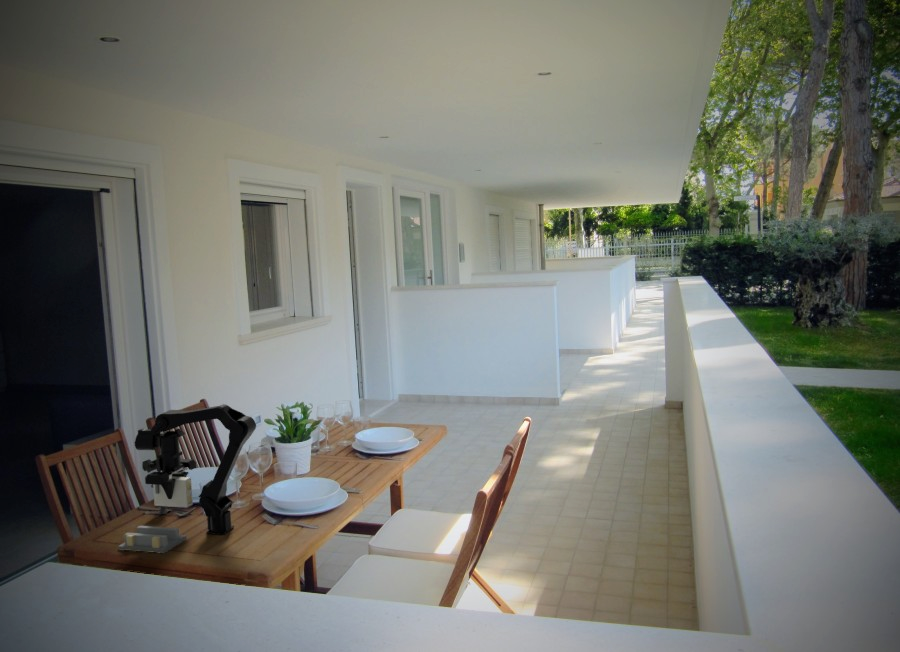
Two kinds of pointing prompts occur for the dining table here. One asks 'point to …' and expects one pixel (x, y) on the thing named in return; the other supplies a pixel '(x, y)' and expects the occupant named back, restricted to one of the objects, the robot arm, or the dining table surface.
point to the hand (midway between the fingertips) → (173, 497)
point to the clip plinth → (152, 539)
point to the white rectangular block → (175, 493)
